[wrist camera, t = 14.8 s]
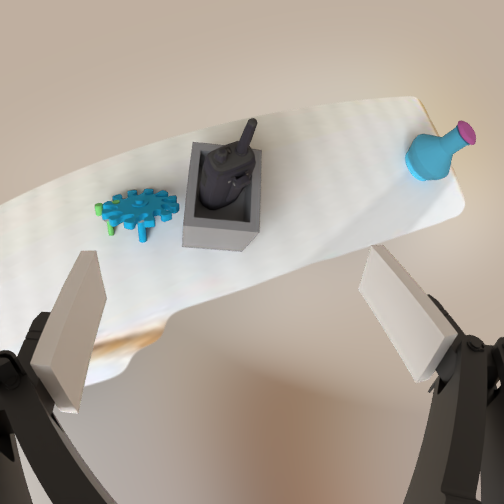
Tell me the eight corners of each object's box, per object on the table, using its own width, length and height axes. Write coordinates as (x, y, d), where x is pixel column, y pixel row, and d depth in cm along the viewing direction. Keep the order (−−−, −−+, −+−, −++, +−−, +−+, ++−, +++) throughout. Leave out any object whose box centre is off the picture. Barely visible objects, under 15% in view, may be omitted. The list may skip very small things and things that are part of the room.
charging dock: (182, 246, 42) (183, 225, 32) (189, 177, 44) (192, 141, 34) (244, 251, 44) (263, 232, 34) (247, 184, 46) (264, 150, 36)
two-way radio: (232, 175, 39) (262, 102, 25) (249, 205, 39) (290, 143, 24) (192, 193, 37) (202, 122, 23) (209, 225, 37) (229, 167, 23)
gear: (185, 185, 42) (170, 219, 34) (185, 224, 45) (173, 264, 37) (109, 184, 41) (80, 216, 33) (113, 221, 44) (88, 259, 36)
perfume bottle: (414, 138, 56) (461, 101, 42) (440, 175, 56) (491, 144, 42) (392, 155, 54) (443, 115, 39) (421, 195, 53) (476, 164, 39)
